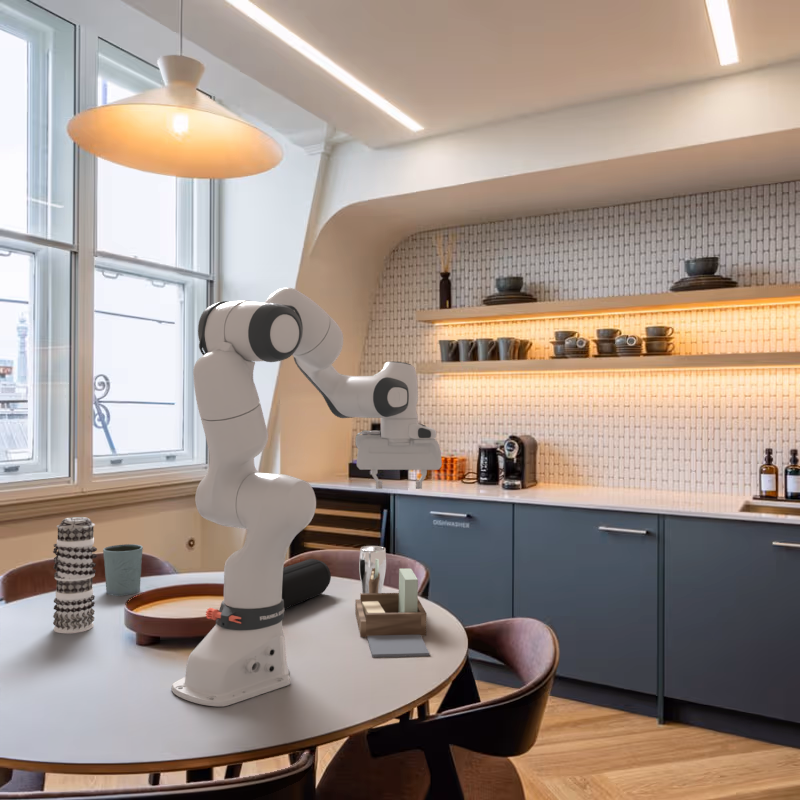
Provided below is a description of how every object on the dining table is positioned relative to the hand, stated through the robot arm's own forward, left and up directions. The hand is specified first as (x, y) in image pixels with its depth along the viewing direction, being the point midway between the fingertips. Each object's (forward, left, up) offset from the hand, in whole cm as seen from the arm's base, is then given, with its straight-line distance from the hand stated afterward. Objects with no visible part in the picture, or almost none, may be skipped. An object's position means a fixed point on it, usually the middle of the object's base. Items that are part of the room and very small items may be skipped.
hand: (399, 488), depth 170 cm
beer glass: (+10, +14, -33) cm, 37 cm away
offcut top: (-2, +5, -31) cm, 31 cm away
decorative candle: (-45, +59, -33) cm, 81 cm away
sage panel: (+3, -1, -33) cm, 33 cm away
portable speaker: (-1, +32, -33) cm, 46 cm away
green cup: (-19, +77, -33) cm, 86 cm away
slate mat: (-12, -8, -33) cm, 36 cm away
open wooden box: (0, +2, -33) cm, 33 cm away
